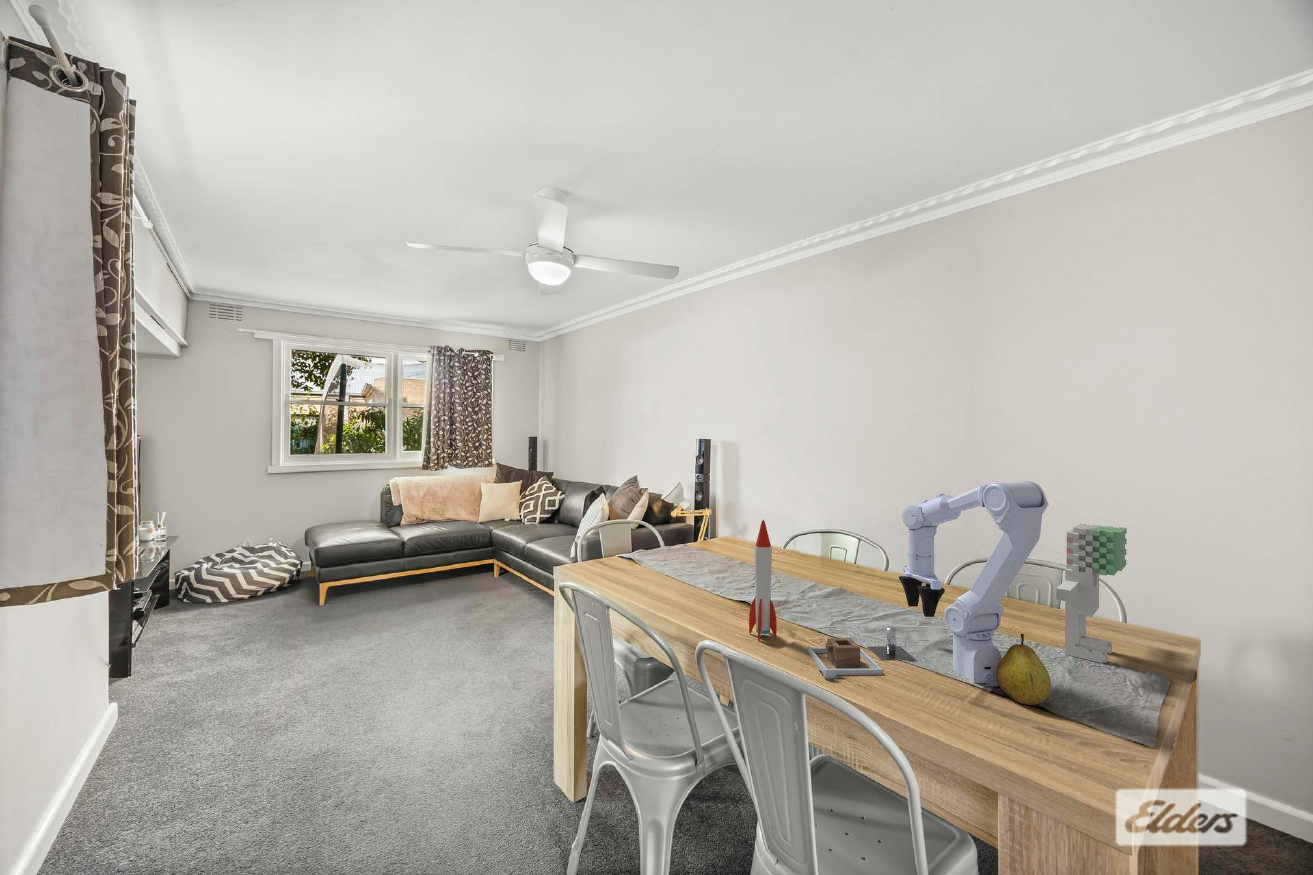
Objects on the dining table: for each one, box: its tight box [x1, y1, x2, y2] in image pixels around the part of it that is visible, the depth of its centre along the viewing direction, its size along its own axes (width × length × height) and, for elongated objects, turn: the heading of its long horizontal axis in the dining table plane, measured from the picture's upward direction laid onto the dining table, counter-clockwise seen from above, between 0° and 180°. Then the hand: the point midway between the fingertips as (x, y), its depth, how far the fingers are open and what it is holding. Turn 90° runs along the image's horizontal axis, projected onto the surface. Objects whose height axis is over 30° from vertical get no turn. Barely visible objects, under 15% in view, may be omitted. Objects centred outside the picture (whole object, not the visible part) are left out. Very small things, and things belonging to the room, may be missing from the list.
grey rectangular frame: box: [807, 646, 883, 680], centre depth 122 cm, size 12×12×2 cm
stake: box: [867, 626, 917, 661], centre depth 127 cm, size 8×8×7 cm
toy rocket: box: [748, 519, 778, 642], centre depth 141 cm, size 6×6×30 cm
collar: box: [825, 637, 861, 669], centre depth 122 cm, size 5×6×5 cm
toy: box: [1055, 523, 1127, 664], centre depth 129 cm, size 30×10×30 cm, turn 134°
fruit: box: [996, 633, 1052, 706], centre depth 108 cm, size 9×9×12 cm
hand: (920, 611), depth 132 cm, fingers open, 7 cm apart
